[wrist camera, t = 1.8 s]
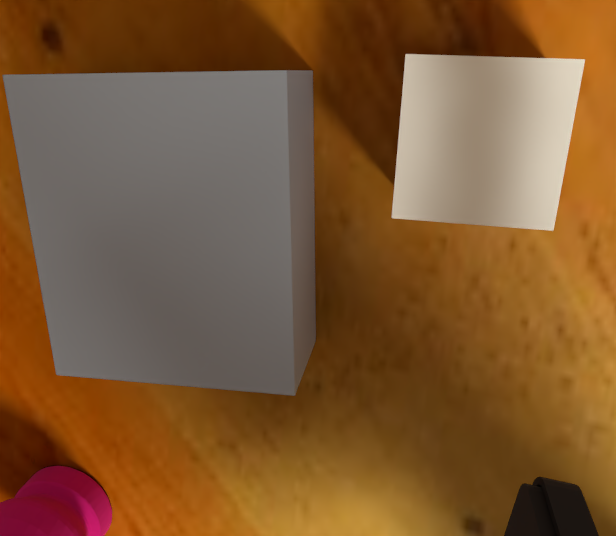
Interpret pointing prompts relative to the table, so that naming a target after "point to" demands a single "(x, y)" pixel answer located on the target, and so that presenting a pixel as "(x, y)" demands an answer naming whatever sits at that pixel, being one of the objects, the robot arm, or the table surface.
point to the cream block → (484, 139)
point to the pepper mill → (57, 506)
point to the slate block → (172, 223)
